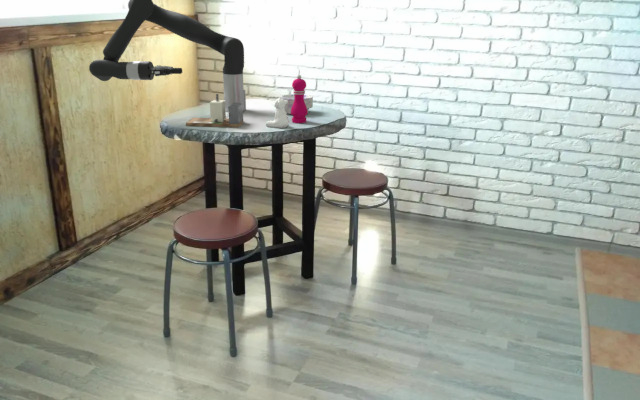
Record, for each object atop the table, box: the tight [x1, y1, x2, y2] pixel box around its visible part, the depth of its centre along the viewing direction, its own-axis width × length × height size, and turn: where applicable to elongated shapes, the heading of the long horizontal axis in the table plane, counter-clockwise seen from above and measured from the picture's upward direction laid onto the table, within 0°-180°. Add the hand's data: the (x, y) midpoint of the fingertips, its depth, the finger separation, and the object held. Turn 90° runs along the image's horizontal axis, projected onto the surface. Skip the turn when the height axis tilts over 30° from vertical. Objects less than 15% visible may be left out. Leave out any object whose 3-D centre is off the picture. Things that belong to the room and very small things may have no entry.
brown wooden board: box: [185, 117, 244, 128], centre depth 229 cm, size 22×11×1 cm, turn 87°
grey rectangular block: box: [228, 103, 244, 124], centre depth 227 cm, size 4×10×7 cm, turn 177°
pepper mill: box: [290, 74, 309, 124], centre depth 232 cm, size 7×7×20 cm
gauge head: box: [209, 93, 227, 122], centre depth 225 cm, size 5×8×11 cm, turn 177°
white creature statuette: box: [265, 97, 290, 129], centre depth 224 cm, size 10×9×12 cm
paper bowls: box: [279, 93, 314, 115], centre depth 253 cm, size 15×15×8 cm
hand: (181, 70), depth 222 cm, fingers closed
